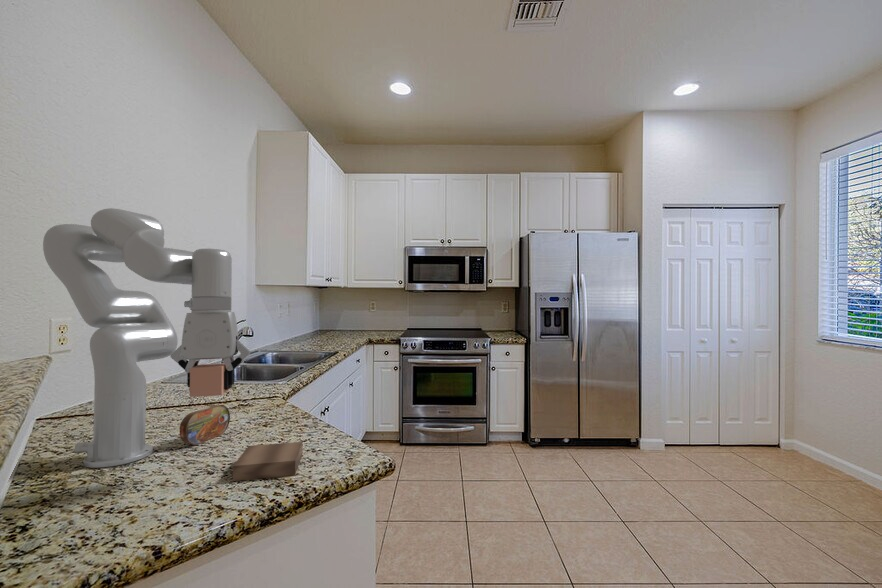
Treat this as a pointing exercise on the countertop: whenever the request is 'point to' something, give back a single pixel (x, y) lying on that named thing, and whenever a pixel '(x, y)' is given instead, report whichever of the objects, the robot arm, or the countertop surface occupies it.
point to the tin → (204, 424)
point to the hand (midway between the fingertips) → (211, 388)
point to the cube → (207, 380)
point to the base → (268, 461)
